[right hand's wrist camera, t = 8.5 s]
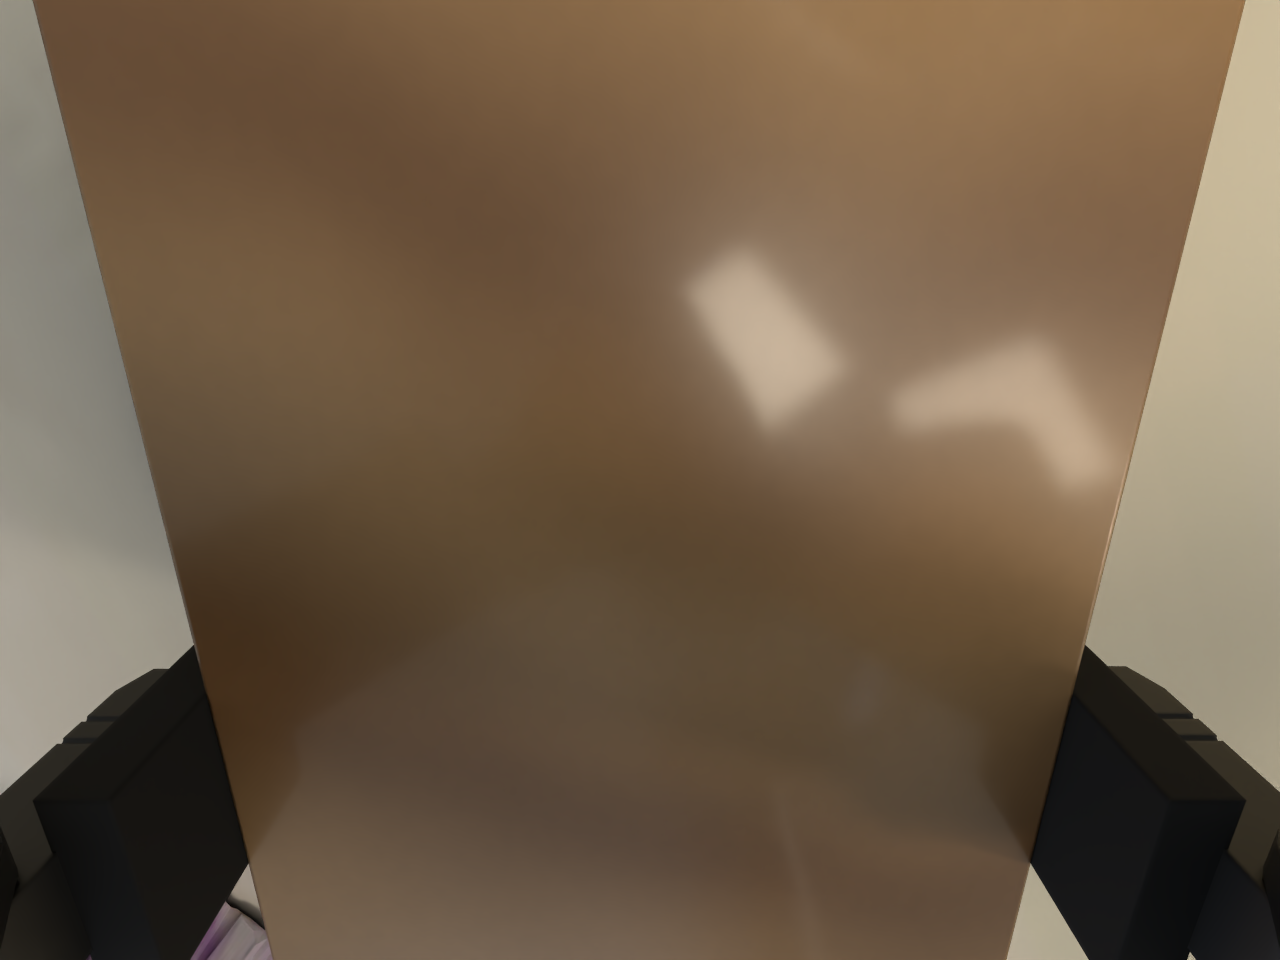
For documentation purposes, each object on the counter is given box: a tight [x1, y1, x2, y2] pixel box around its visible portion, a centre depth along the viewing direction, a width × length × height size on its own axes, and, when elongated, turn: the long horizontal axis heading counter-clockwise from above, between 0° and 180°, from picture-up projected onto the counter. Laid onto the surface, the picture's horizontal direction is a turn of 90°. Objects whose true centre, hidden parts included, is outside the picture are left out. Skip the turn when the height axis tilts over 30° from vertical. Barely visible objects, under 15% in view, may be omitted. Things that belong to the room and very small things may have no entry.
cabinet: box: [33, 0, 1245, 960], centre depth 10 cm, size 21×10×8 cm, turn 0°
